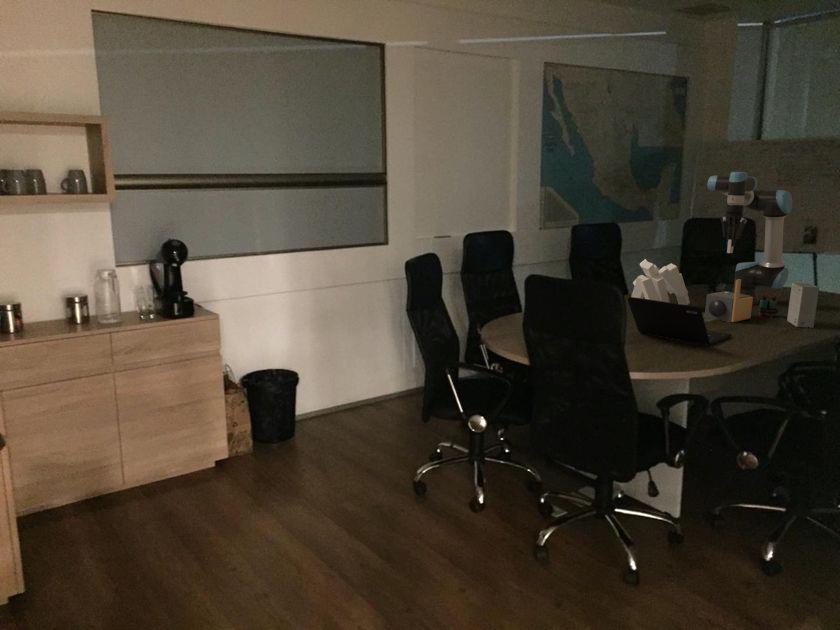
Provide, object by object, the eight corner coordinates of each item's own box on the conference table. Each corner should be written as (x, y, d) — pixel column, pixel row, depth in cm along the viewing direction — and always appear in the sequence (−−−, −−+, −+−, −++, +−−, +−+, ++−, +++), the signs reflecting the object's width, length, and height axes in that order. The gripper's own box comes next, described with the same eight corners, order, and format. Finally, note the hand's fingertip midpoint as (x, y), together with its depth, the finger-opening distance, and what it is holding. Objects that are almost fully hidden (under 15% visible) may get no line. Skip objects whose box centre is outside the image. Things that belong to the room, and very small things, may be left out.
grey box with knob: (721, 313, 351) (724, 290, 348) (747, 318, 339) (750, 294, 337) (702, 317, 340) (704, 293, 338) (728, 323, 329) (730, 297, 326)
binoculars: (762, 299, 339) (759, 294, 348) (760, 319, 342) (756, 313, 351) (782, 300, 336) (778, 295, 346) (779, 320, 340) (775, 314, 349)
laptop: (732, 338, 301) (737, 296, 296) (696, 353, 275) (700, 307, 271) (662, 325, 324) (666, 286, 320) (623, 338, 298) (626, 295, 294)
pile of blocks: (654, 310, 384) (629, 256, 379) (705, 297, 363) (679, 239, 358) (633, 337, 360) (606, 280, 354) (686, 325, 339) (658, 264, 334)
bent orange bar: (748, 317, 339) (753, 277, 334) (750, 318, 338) (755, 277, 334) (731, 321, 330) (735, 279, 325) (733, 322, 329) (737, 280, 325)
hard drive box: (814, 328, 320) (819, 287, 316) (796, 327, 322) (802, 286, 317) (802, 321, 335) (808, 282, 331) (786, 320, 336) (791, 281, 332)
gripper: (718, 203, 326) (713, 251, 331) (744, 205, 316) (738, 254, 321) (726, 203, 330) (721, 251, 335) (752, 204, 320) (746, 253, 325)
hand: (729, 252), depth 328 cm, fingers closed
